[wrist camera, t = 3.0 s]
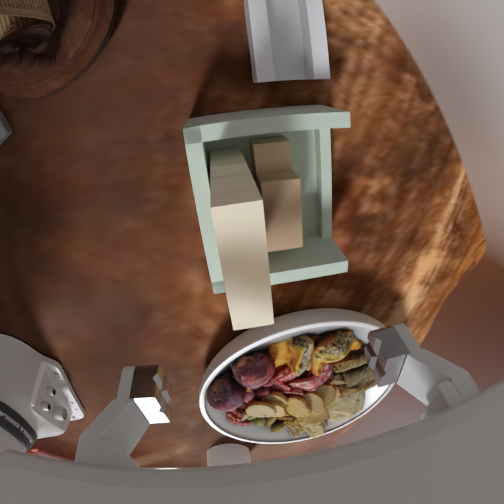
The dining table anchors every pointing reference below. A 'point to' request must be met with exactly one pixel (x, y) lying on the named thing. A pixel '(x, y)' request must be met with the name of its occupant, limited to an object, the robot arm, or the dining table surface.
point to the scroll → (50, 43)
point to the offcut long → (270, 154)
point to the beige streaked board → (240, 238)
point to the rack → (238, 133)
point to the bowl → (292, 378)
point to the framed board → (4, 128)
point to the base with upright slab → (228, 455)
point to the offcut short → (281, 209)
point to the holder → (287, 40)
